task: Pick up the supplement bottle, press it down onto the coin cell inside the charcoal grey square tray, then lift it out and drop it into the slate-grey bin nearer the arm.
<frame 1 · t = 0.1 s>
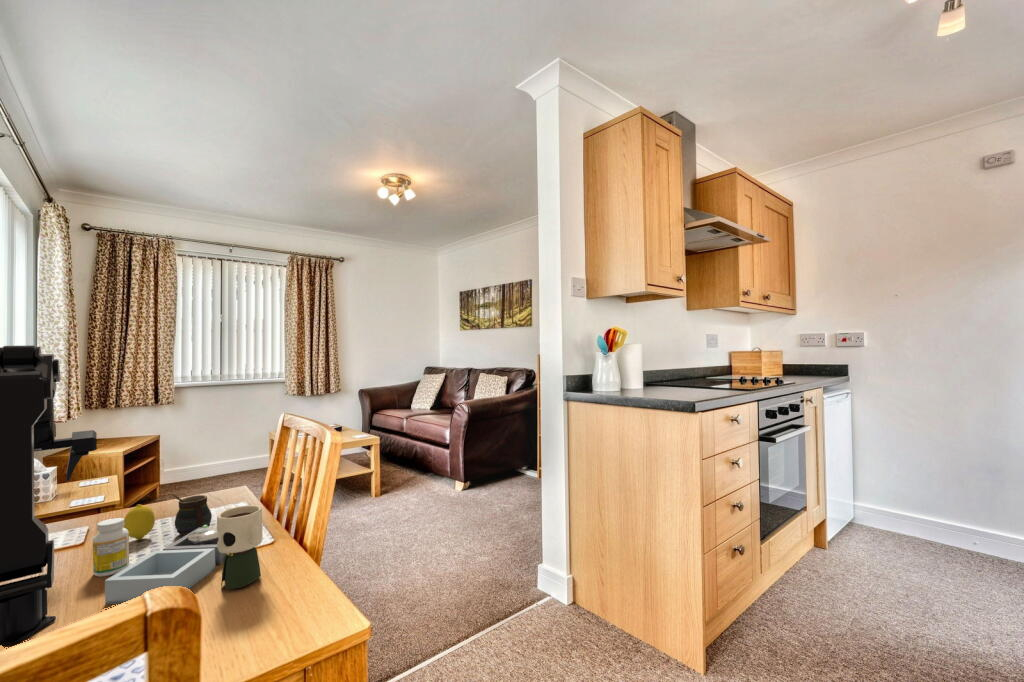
hand: (37, 485, 96), 15 cm above the table, tool pointing down, fingers open, 9 cm apart
supplement bottle: (111, 571, 90), on the table
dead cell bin: (164, 585, 84), on the table
mate gourd: (193, 533, 108), on the table
grey square tray: (208, 553, 97), on the table
character mug: (241, 584, 84), on the table
lemon: (139, 540, 105), on the table
coin cell: (208, 537, 97), point 3 cm above the table, slide at 0.0 cm
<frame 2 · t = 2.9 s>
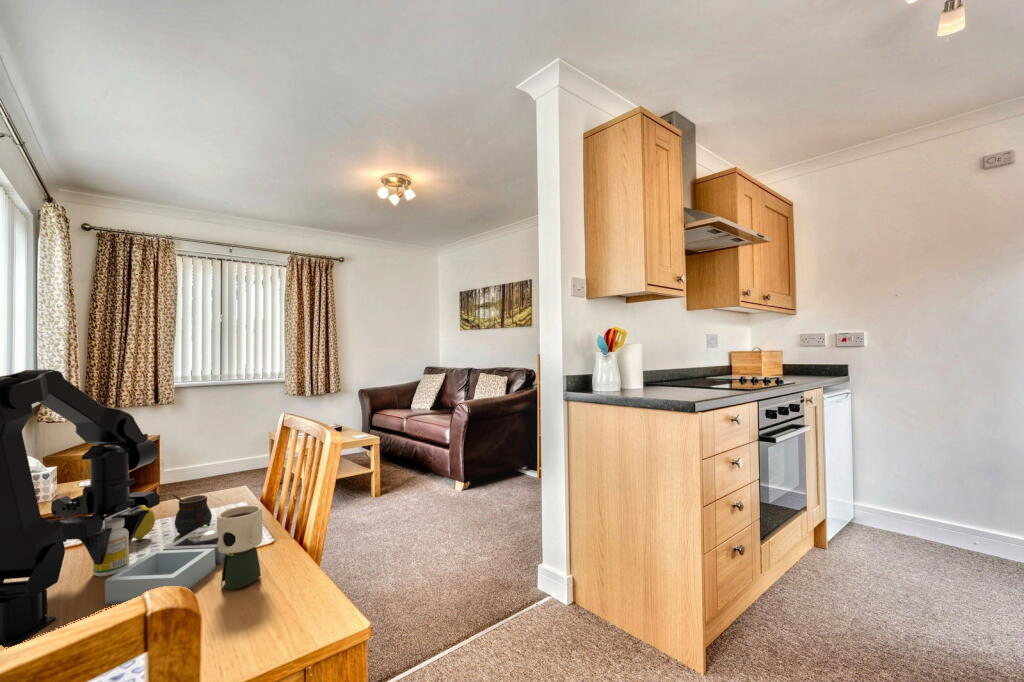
hand: (111, 557, 90), 3 cm above the table, tool pointing down, fingers closed on supplement bottle, 5 cm apart
supplement bottle: (111, 571, 90), on the table, touching gripper
everything else where it was.
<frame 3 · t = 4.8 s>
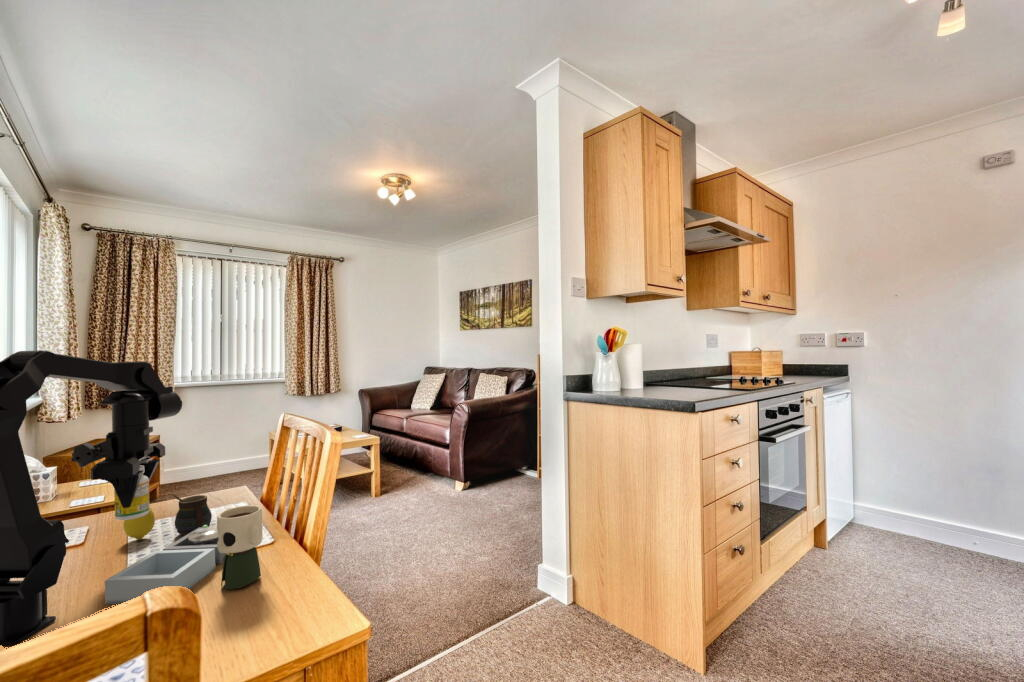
hand: (132, 502, 92), 13 cm above the table, tool pointing down, fingers closed on supplement bottle, 5 cm apart
supplement bottle: (132, 516, 92), point 10 cm above the table, touching gripper
everything else where it was.
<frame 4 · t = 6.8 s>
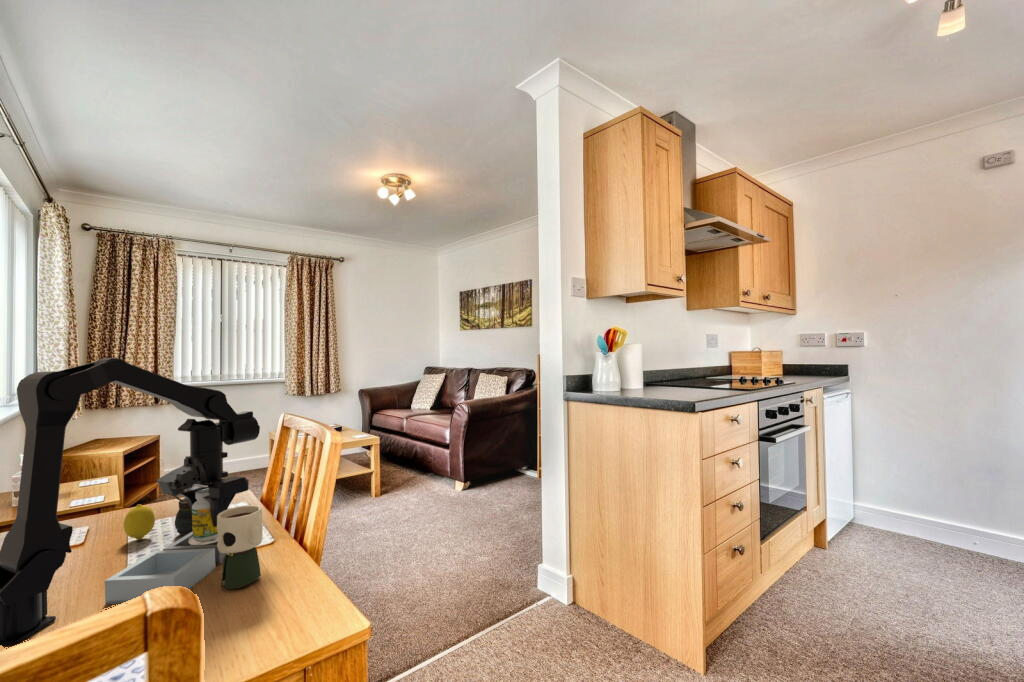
hand: (207, 524, 97), 6 cm above the table, tool pointing down, fingers closed on supplement bottle, 5 cm apart
supplement bottle: (208, 537, 97), point 3 cm above the table, touching coin cell, gripper
coin cell: (208, 541, 97), point 2 cm above the table, slide at -0.9 cm, touching supplement bottle
everything else where it was.
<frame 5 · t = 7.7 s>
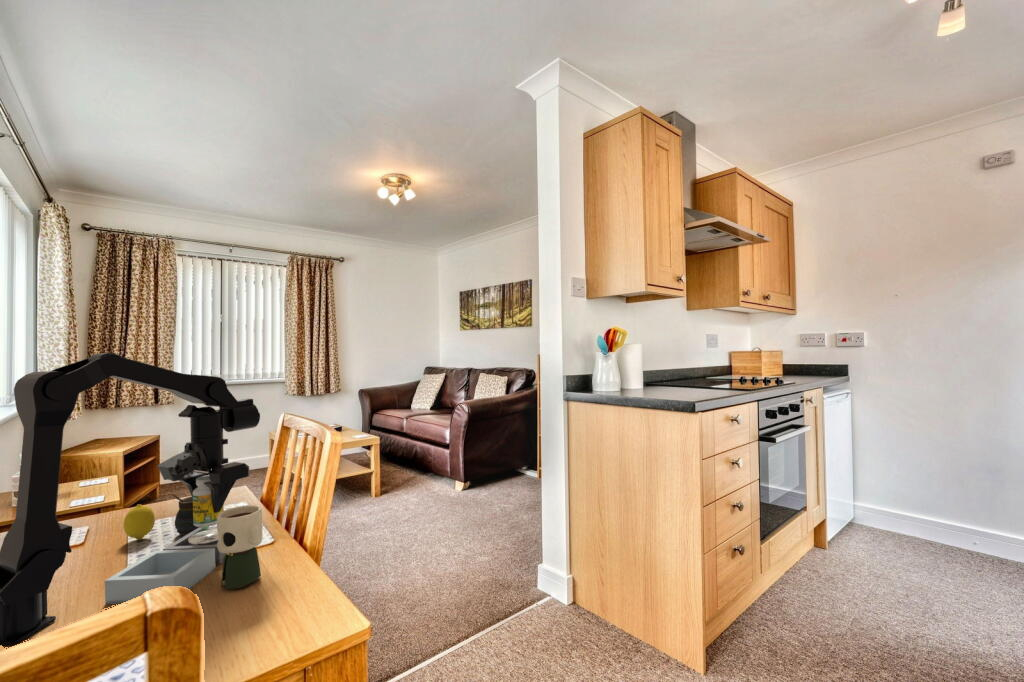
hand: (208, 510, 97), 9 cm above the table, tool pointing down, fingers closed on supplement bottle, 5 cm apart
supplement bottle: (208, 523, 97), point 6 cm above the table, touching gripper
coin cell: (208, 540, 97), point 3 cm above the table, slide at -0.6 cm
everything else where it was.
when the fingers open (5 cm above the table, at t = 10.7 s): supplement bottle drops 2 cm, resting on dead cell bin.
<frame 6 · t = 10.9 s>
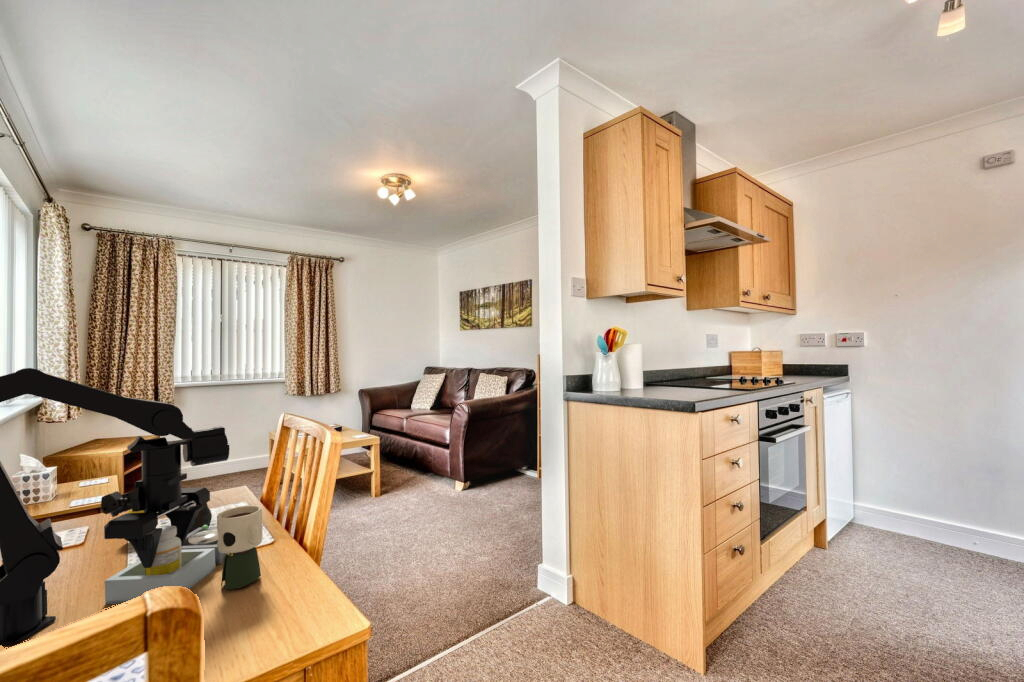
hand: (163, 557, 84), 5 cm above the table, tool pointing down, fingers open, 7 cm apart
supplement bottle: (163, 583, 84), resting on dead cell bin
everything else where it was.
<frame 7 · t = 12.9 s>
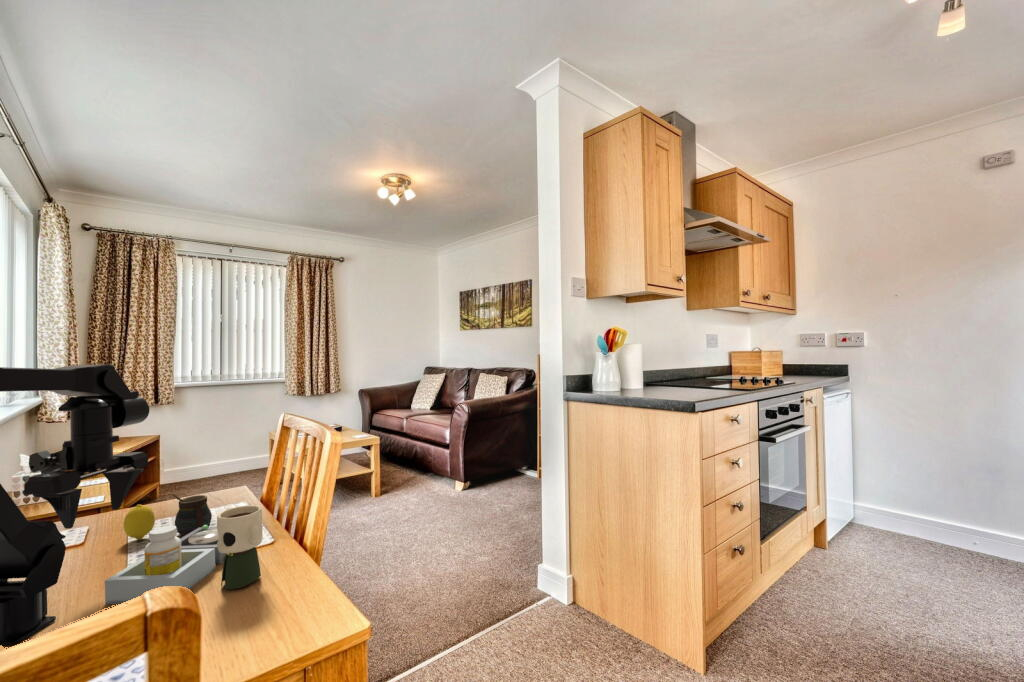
hand: (93, 518, 84), 12 cm above the table, tool pointing down, fingers open, 9 cm apart
nothing on the table moved.
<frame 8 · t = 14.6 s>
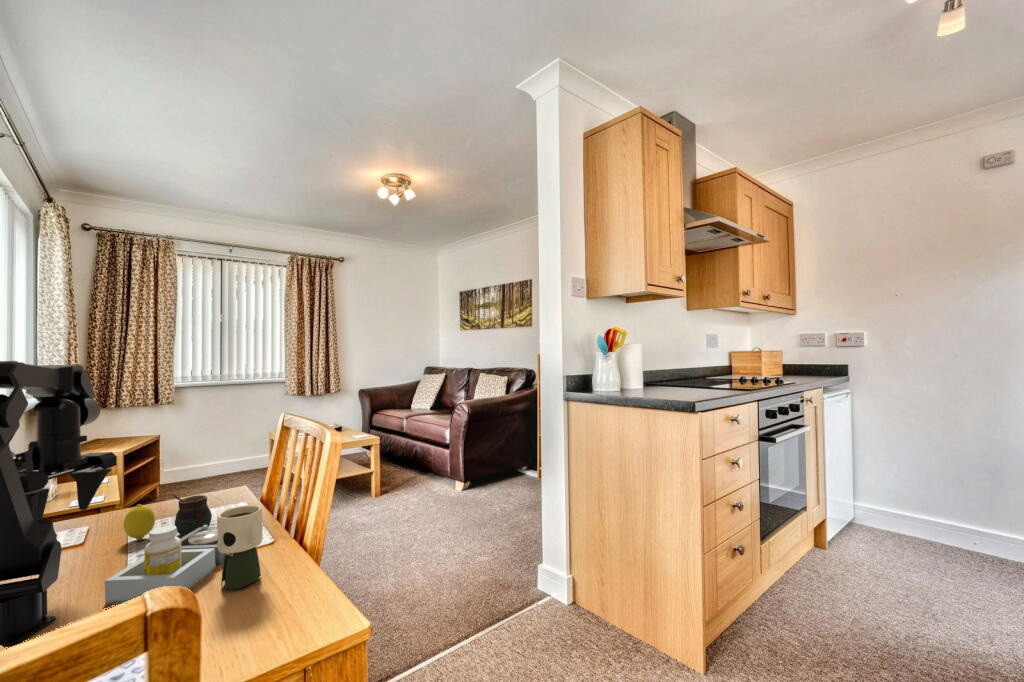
hand: (60, 518, 84), 12 cm above the table, tool pointing down, fingers open, 9 cm apart
nothing on the table moved.
at the end: supplement bottle inside the target area on the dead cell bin (0.0 cm from its centre), point 0.3 cm above the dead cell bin's base; supplement bottle tilted 0°; the gripper is holding nothing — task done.
